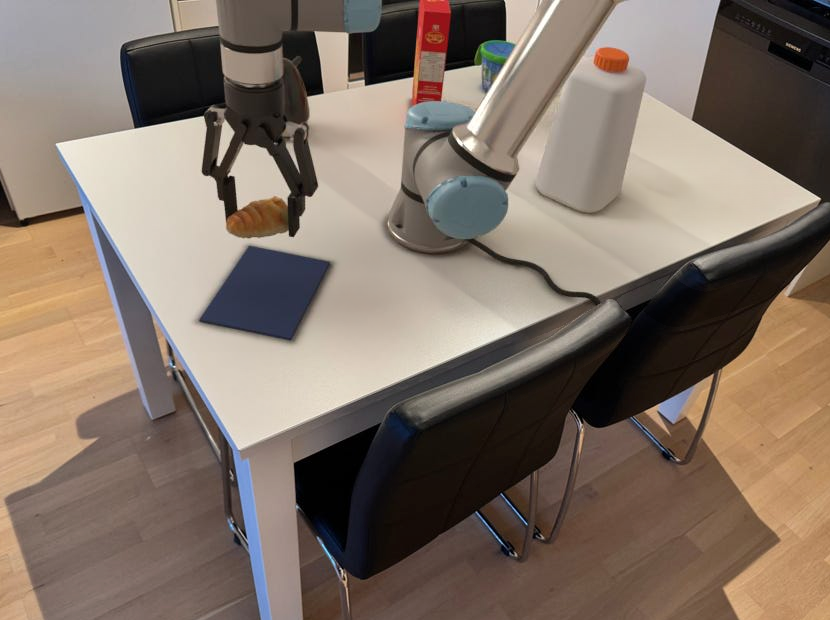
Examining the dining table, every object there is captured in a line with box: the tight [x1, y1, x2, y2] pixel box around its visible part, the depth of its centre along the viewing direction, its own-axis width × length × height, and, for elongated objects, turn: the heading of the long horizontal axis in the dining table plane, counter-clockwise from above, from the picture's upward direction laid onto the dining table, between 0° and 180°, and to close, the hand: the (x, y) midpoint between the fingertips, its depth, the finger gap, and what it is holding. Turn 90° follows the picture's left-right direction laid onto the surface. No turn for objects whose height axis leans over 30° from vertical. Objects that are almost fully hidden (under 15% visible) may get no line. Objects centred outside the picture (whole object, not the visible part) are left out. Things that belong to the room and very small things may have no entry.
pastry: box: [225, 195, 289, 239], centre depth 108 cm, size 9×7×4 cm
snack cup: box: [474, 39, 517, 93], centre depth 179 cm, size 16×10×10 cm
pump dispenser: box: [282, 55, 311, 138], centre depth 150 cm, size 10×10×15 cm
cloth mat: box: [199, 245, 331, 341], centre depth 116 cm, size 14×20×1 cm
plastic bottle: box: [535, 46, 647, 214], centre depth 141 cm, size 15×15×28 cm
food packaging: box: [411, 0, 452, 107], centre depth 159 cm, size 15×5×25 cm, turn 4°
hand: (263, 225), depth 110 cm, fingers closed on pastry, 9 cm apart
